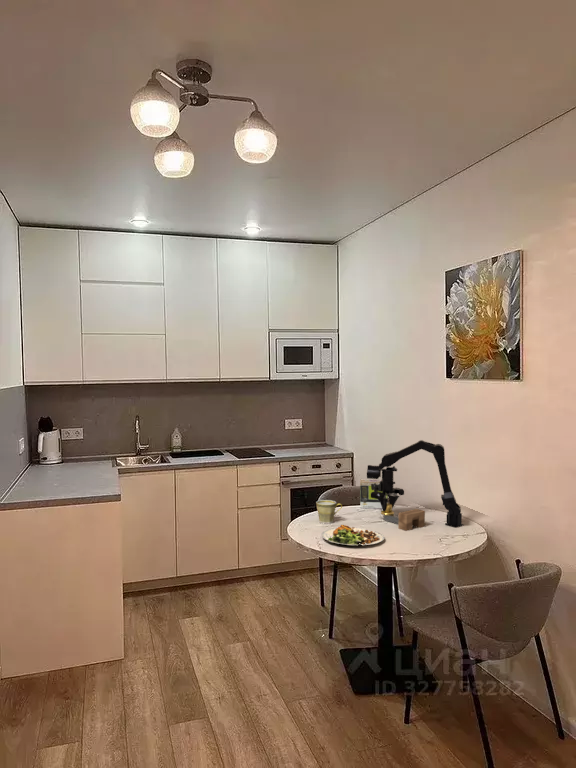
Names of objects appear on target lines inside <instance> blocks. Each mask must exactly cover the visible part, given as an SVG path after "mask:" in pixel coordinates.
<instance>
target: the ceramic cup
mask: <svg viewBox="0 0 576 768" xmlns="http://www.w3.org/2000/svg"><path fill="white" fill-rule="evenodd" d="M315 505H316V509H317V513H318V514H317V515H318V520H319V523H320V524H322V523H324V524H323V525H326V524H327V525H330V523H331V524H333V523H334V519H335V515H336V514H337V513H338V512H339V511H340V510H341V509H342V508H343V504H342V503H339V502H338V503H337V501H335V500H331V499H320V500H317V501H316V502H315ZM339 505H340V508H339V509H338V510H336V509H337V507H338V506H339Z"/></svg>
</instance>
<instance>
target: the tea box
mask: <svg viewBox="0 0 576 768" xmlns="http://www.w3.org/2000/svg"><path fill="white" fill-rule="evenodd" d="M380 481H382V478H378V479H367V478H361V479H360V481H359V484H360V485H359V492H360V493H359V503H360V507H359V508H360V509H377V510H378V509H380V510H381V509H382V506H381V503H380V501H379V500H378V499H375V498H371V493H372V492H374V490H372V489H371V484H374V483H376V485H378V484H380ZM378 492H380V491H378ZM386 498H388V499H389V497H388V496H386ZM387 503H389V500H388V501H387ZM382 510H383V509H382Z"/></svg>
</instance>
